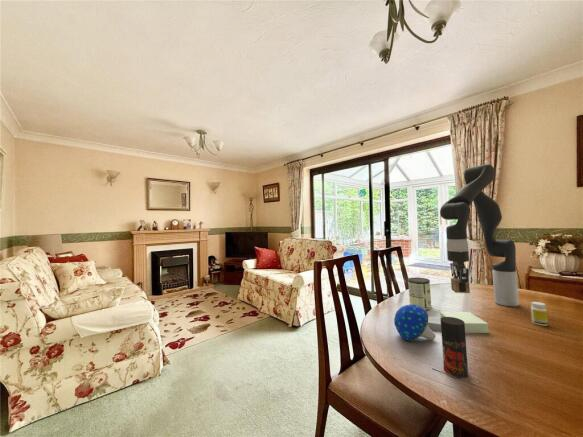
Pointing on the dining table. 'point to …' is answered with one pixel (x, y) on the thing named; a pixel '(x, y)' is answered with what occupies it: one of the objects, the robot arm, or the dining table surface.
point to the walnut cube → (456, 286)
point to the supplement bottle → (539, 314)
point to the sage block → (468, 321)
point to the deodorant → (454, 347)
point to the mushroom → (413, 323)
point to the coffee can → (420, 292)
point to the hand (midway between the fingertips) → (460, 289)
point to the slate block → (434, 323)
